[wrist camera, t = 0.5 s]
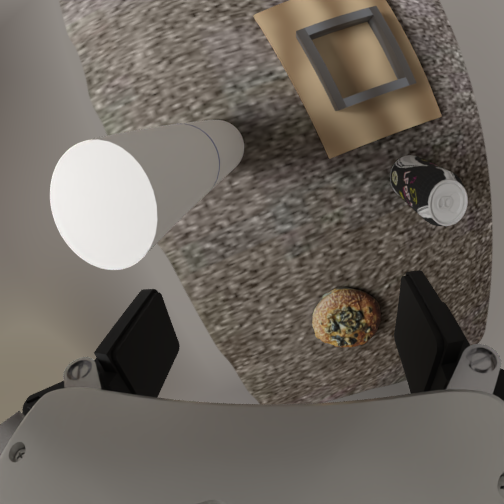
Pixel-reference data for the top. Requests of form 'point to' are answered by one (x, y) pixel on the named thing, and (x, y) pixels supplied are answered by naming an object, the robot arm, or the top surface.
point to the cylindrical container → (137, 186)
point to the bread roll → (346, 317)
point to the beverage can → (429, 190)
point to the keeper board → (350, 69)
